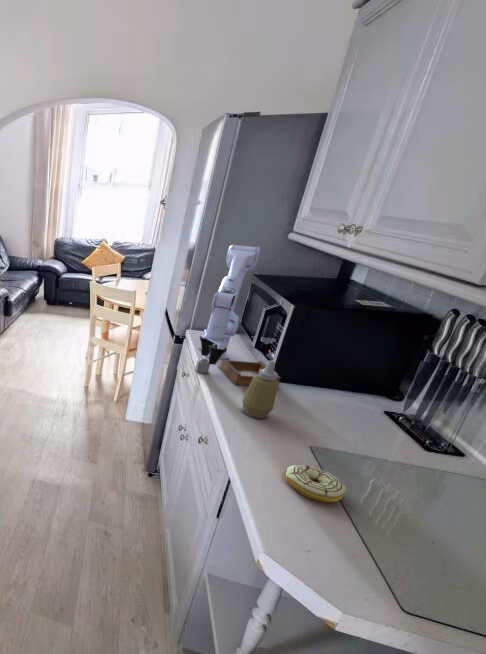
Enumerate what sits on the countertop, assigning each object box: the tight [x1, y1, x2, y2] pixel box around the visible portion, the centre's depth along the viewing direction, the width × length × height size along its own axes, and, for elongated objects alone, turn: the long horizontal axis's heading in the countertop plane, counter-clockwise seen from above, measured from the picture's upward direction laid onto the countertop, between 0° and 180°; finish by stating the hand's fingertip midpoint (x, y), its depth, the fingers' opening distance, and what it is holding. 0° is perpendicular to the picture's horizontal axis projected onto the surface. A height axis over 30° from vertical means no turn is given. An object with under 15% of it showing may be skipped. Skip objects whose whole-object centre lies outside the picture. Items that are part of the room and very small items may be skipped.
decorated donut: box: [285, 464, 347, 503], centre depth 92 cm, size 10×11×4 cm
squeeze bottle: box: [242, 360, 280, 419], centre depth 118 cm, size 8×8×18 cm
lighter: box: [194, 358, 211, 374], centre depth 146 cm, size 7×2×8 cm, turn 81°
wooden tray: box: [219, 358, 281, 387], centre depth 143 cm, size 14×14×4 cm
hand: (208, 359), depth 146 cm, fingers open, 7 cm apart
